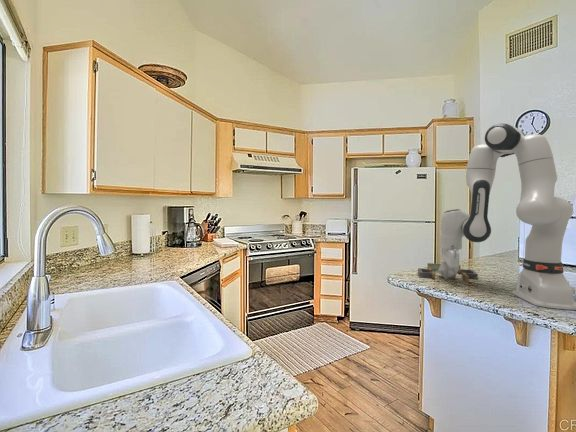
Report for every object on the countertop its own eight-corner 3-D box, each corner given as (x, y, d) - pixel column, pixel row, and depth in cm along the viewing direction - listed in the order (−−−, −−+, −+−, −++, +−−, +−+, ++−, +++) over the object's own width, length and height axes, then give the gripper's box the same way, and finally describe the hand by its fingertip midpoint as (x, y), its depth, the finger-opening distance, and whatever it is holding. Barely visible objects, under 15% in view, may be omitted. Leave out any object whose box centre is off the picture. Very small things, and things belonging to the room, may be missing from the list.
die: (434, 278, 153) (443, 265, 147) (435, 267, 159) (444, 254, 153) (451, 286, 151) (461, 273, 145) (452, 274, 157) (462, 261, 151)
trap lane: (481, 283, 143) (481, 274, 143) (420, 278, 151) (420, 270, 151) (471, 273, 161) (471, 265, 161) (416, 269, 169) (416, 262, 169)
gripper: (464, 248, 135) (462, 280, 136) (453, 241, 155) (452, 269, 156) (447, 247, 137) (446, 278, 138) (439, 241, 157) (438, 268, 157)
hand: (449, 274), depth 147 cm, fingers closed
